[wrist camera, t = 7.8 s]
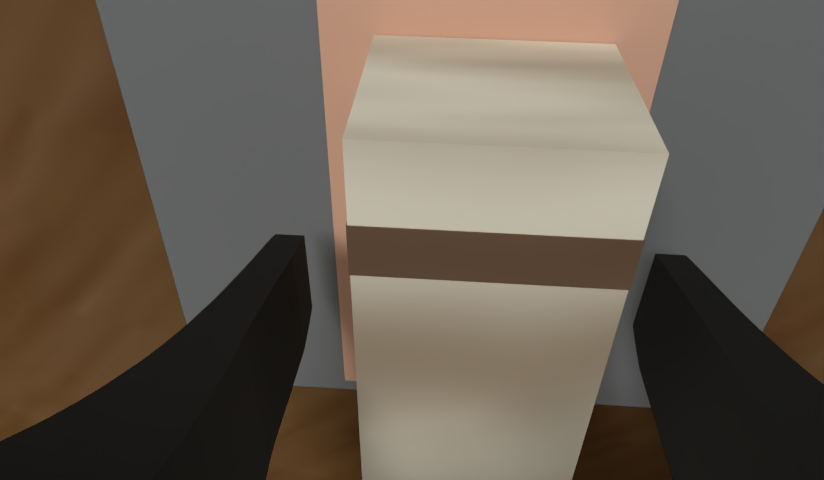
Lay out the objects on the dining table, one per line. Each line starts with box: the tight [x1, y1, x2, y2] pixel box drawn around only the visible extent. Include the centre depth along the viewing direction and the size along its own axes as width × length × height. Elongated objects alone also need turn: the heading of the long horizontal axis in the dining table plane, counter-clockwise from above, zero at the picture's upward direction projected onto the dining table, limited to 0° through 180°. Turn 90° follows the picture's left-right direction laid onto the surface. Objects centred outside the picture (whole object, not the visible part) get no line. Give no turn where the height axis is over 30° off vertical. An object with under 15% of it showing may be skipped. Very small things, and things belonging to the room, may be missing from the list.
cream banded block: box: [342, 35, 669, 480], centre depth 13 cm, size 9×4×4 cm, turn 0°
